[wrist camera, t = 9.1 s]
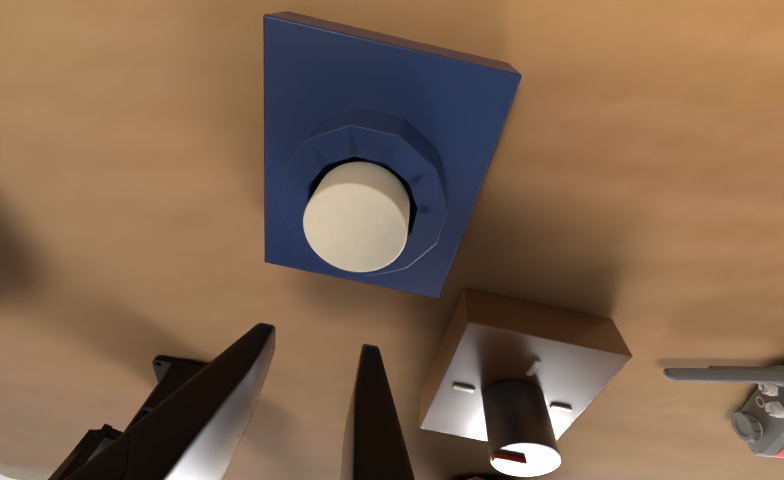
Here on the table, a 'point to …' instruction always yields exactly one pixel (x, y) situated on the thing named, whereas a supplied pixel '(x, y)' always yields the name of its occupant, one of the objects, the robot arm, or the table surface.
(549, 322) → the dial panel
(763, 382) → the walkie-talkie
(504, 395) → the dial
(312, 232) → the cap
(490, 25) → the table surface
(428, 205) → the button housing
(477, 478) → the decorative rock
